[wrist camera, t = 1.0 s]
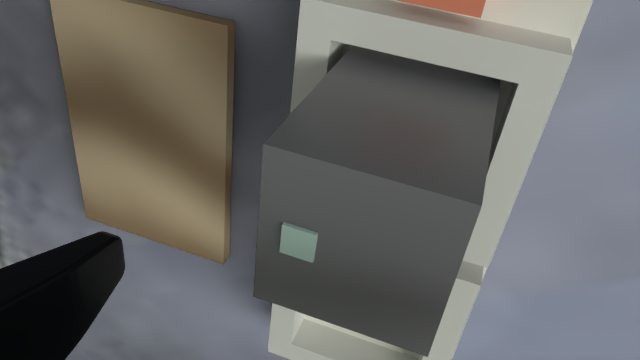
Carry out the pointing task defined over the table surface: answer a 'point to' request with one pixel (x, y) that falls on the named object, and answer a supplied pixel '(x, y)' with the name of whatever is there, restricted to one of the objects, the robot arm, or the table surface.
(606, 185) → the table surface
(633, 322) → the table surface
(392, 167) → the block
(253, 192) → the table surface
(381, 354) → the power strip
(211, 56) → the cork pad
